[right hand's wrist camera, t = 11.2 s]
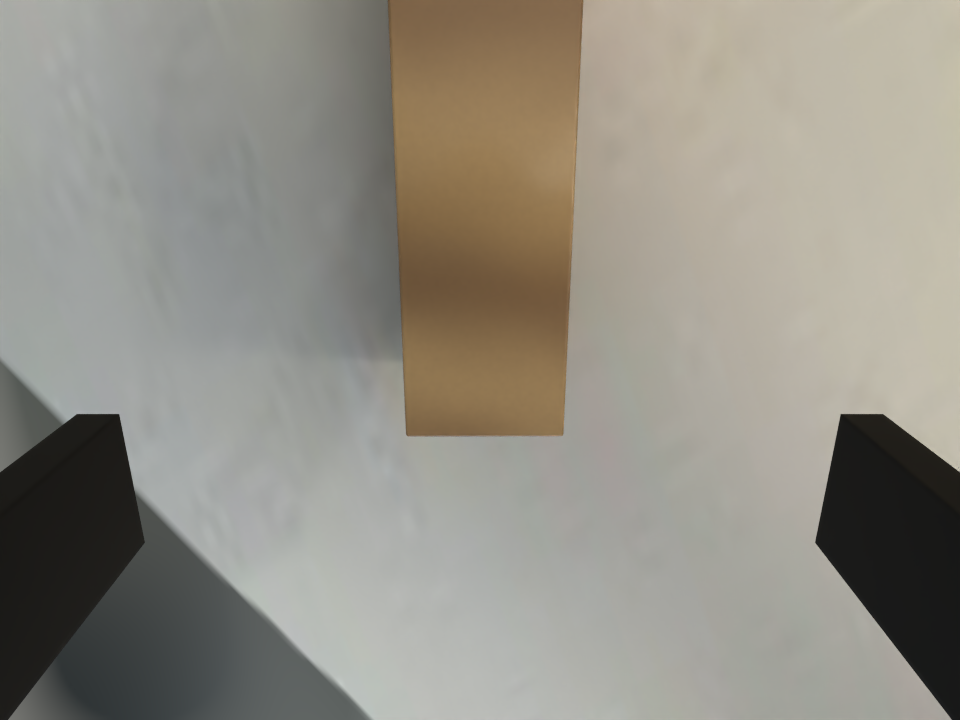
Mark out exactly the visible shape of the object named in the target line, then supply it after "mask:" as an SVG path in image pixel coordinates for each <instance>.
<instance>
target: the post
mask: <svg viewBox="0 0 960 720" xmlns="http://www.w3.org/2000/svg"><path fill="white" fill-rule="evenodd" d="M582 16H583V0H388V17H389V41H390V64H391V88H392V112H393V135H394V159H395V183H396V206H397V230H398V254H399V277H400V301H401V325H402V348H403V372H404V396H405V419H406V435H407V436H562V435H563V431H564V409H565V387H566V365H567V343H568V322H569V300H570V278H571V256H572V234H573V212H574V190H575V169H576V147H577V125H578V103H579V81H580V59H581V38H582Z"/></svg>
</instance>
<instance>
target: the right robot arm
mask: <svg viewBox="0 0 960 720" xmlns="http://www.w3.org/2000/svg"><path fill="white" fill-rule="evenodd" d="M144 543H145V541H144V536H143V532H142V527H141V521H140V516H139V512H138V506H137V501H136V497H135V491H134V486H133V481H132V476H131V471H130V466H129V461H128V456H127V451H126V446H125V441H124V436H123V431H122V426H121V421H120V416H119V414H77V415H75V416H74V417H73V418H71V419H70V420H69V421H67V422H66V423H65V424H63V425H62V426H61V427H60V428H58V429H57V430H56V431H54V432H53V433H52V434H50V435H49V436H48V437H46V438H45V439H44V440H42V441H41V442H40V443H38V444H37V445H36V446H34V447H33V448H32V449H30V450H29V451H28V452H27V453H25V454H24V455H23V456H21V457H20V458H19V459H17V460H16V461H15V462H13V463H12V464H11V465H9V466H8V467H7V468H5V469H4V470H3V471H1V472H0V720H8V719H9V718H10V716H11V715H12V714H13V712H14V711H15V710H16V709H17V707H18V706H19V705H20V703H21V702H22V701H23V700H24V698H25V697H26V696H27V694H28V693H29V692H30V690H31V689H32V688H33V687H34V685H35V684H36V683H37V681H38V680H39V679H40V677H41V676H42V675H43V674H44V672H45V671H46V670H47V668H48V667H49V666H50V665H51V663H52V662H53V661H54V659H55V658H56V657H57V656H58V654H59V653H60V652H61V650H62V649H63V648H64V646H65V645H66V644H67V643H68V641H69V640H70V639H71V637H72V636H73V635H74V633H75V632H76V631H77V629H78V628H79V627H80V626H81V624H82V623H83V622H84V621H85V619H86V618H87V617H88V615H89V614H90V613H91V612H92V610H93V609H94V608H95V606H96V605H97V604H98V602H99V601H100V600H101V599H102V597H103V596H104V595H105V593H106V592H107V591H108V589H109V588H110V587H111V586H112V584H113V583H114V582H115V580H116V579H117V578H118V577H119V575H120V574H121V573H122V571H123V570H124V569H125V567H126V566H127V565H128V564H129V562H130V561H131V560H132V558H133V557H134V556H135V555H136V553H137V552H138V551H139V549H140V548H141V547H142V545H143V544H144ZM815 543H816V544H817V545H818V547H819V548H820V549H821V551H822V552H823V553H824V555H825V556H826V557H827V558H828V560H829V561H830V562H831V564H832V565H833V566H834V567H835V569H836V570H837V571H838V573H839V574H840V575H841V577H842V578H843V579H844V580H845V582H846V583H847V584H848V586H849V587H850V588H851V589H852V591H853V592H854V593H855V595H856V596H857V597H858V599H859V600H860V601H861V602H862V604H863V605H864V606H865V608H866V609H867V610H868V612H869V613H870V614H871V615H872V617H873V618H874V619H875V621H876V622H877V623H878V624H879V626H880V627H881V628H882V630H883V631H884V632H885V634H886V635H887V636H888V637H889V639H890V640H891V641H892V643H893V644H894V645H895V646H896V648H897V649H898V650H899V652H900V653H901V654H902V656H903V657H904V658H905V659H906V661H907V662H908V663H909V665H910V666H911V667H912V668H913V670H914V671H915V672H916V674H917V675H918V676H919V678H920V679H921V680H922V681H923V683H924V684H925V685H926V687H927V688H928V689H929V690H930V692H931V693H932V694H933V696H934V697H935V698H936V700H937V701H938V702H939V703H940V705H941V706H942V707H943V709H944V710H945V711H946V712H947V714H948V715H949V716H950V718H951V719H952V720H960V472H959V471H957V470H956V469H955V468H953V467H952V466H951V465H949V464H948V463H947V462H945V461H944V460H943V459H941V458H940V457H939V456H937V455H936V454H935V453H933V452H932V451H931V450H929V449H928V448H927V447H926V446H924V445H923V444H922V443H920V442H919V441H918V440H916V439H915V438H914V437H912V436H911V435H910V434H908V433H907V432H906V431H904V430H903V429H902V428H900V427H899V426H898V425H897V424H895V423H894V422H893V421H891V420H890V419H889V418H887V417H886V416H885V415H883V414H841V416H840V421H839V426H838V431H837V436H836V441H835V446H834V451H833V456H832V461H831V466H830V471H829V476H828V481H827V486H826V491H825V496H824V501H823V506H822V511H821V516H820V521H819V526H818V531H817V536H816V541H815Z"/></svg>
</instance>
